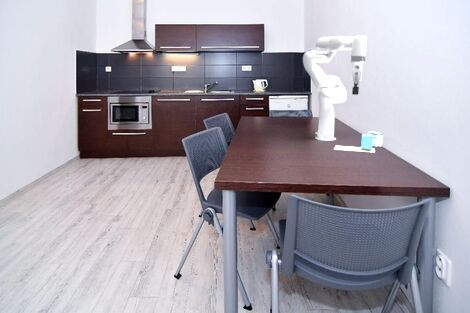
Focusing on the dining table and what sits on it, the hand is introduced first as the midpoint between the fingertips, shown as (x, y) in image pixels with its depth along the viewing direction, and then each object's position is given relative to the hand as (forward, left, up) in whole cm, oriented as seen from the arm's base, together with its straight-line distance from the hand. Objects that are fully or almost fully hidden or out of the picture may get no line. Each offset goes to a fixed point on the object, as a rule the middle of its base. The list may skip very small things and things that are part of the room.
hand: (355, 94), depth 207 cm
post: (+16, -5, -28) cm, 32 cm away
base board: (+12, -9, -29) cm, 33 cm away
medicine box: (+8, +9, -29) cm, 32 cm away
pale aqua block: (+16, -5, -27) cm, 32 cm away
